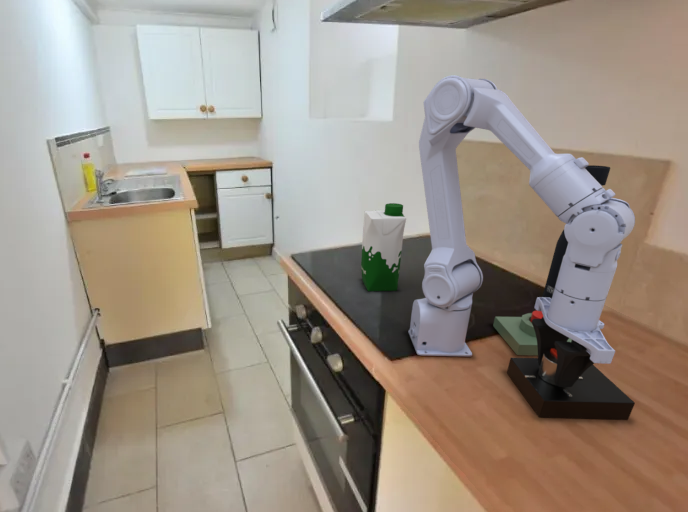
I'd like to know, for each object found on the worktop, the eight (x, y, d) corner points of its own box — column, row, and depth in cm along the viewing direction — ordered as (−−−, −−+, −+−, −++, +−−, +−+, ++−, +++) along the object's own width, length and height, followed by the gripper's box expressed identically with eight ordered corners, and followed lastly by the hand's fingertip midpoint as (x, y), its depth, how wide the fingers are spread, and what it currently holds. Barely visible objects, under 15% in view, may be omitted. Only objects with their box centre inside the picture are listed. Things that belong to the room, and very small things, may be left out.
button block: (516, 355, 66) (521, 335, 65) (492, 326, 76) (496, 308, 74) (587, 356, 66) (593, 337, 64) (554, 327, 75) (559, 309, 74)
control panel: (538, 417, 53) (543, 399, 51) (506, 372, 62) (509, 356, 61) (628, 420, 52) (635, 402, 51) (581, 374, 61) (587, 358, 60)
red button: (536, 328, 68) (538, 319, 67) (526, 318, 71) (528, 310, 70) (557, 328, 68) (559, 320, 67) (546, 318, 71) (548, 310, 70)
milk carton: (401, 292, 90) (410, 209, 82) (364, 293, 90) (369, 210, 82) (391, 277, 98) (398, 200, 91) (357, 278, 98) (361, 201, 90)
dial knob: (575, 386, 54) (583, 364, 53) (547, 385, 54) (553, 363, 53) (559, 369, 58) (566, 348, 56) (533, 368, 58) (538, 347, 56)
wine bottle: (577, 308, 82) (621, 166, 71) (571, 318, 78) (616, 169, 67) (544, 299, 87) (580, 163, 75) (536, 308, 82) (574, 166, 71)
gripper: (654, 319, 44) (617, 411, 49) (577, 271, 57) (555, 348, 62) (591, 317, 44) (561, 409, 49) (529, 270, 57) (511, 346, 63)
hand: (554, 375), depth 56 cm, fingers closed on dial knob, 4 cm apart
